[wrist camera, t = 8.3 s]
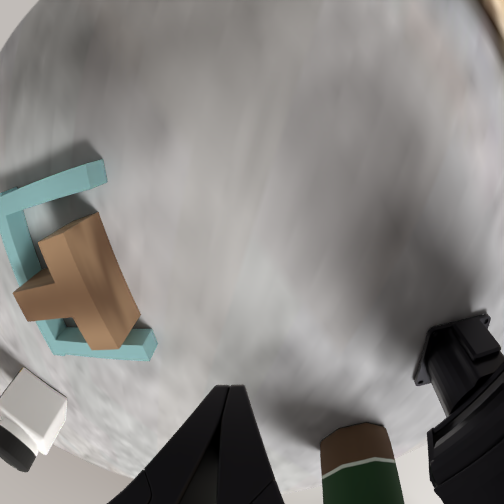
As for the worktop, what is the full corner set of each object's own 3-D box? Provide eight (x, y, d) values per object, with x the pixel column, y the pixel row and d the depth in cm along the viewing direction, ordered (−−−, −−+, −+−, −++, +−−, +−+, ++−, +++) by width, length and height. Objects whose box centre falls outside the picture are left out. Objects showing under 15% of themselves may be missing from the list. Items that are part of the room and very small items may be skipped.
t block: (29, 238, 19) (-3, 259, 15) (98, 211, 18) (63, 232, 14) (68, 322, 22) (45, 350, 18) (140, 314, 20) (119, 349, 17)
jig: (158, 346, 22) (150, 363, 20) (63, 341, 23) (53, 354, 21) (102, 155, 16) (84, 159, 14) (7, 191, 17) (-10, 197, 15)
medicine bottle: (23, 365, 26) (-25, 430, 15) (68, 398, 27) (26, 472, 16) (26, 390, 29) (-13, 449, 18) (66, 419, 30) (32, 483, 19)
